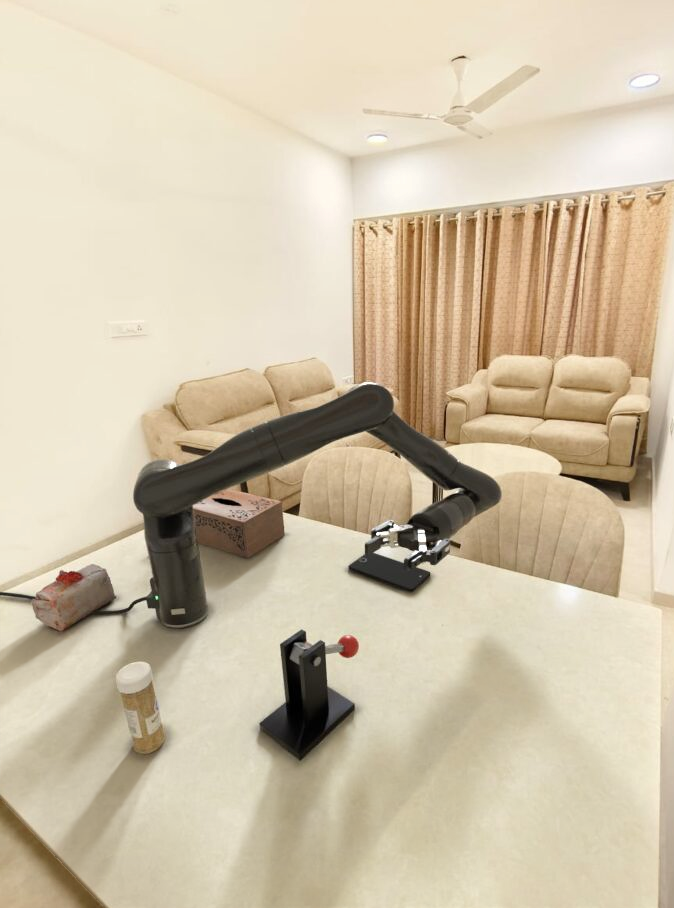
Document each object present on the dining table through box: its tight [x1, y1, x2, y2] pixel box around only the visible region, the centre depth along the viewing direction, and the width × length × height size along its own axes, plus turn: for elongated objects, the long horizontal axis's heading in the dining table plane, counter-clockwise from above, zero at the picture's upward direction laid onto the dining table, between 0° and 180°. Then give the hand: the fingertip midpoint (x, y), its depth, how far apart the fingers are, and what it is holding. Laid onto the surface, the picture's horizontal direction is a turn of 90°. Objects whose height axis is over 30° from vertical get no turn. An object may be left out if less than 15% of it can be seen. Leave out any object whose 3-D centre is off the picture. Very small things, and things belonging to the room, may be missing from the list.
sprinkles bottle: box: [115, 661, 166, 755], centre depth 73 cm, size 5×5×14 cm
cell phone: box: [347, 552, 431, 593], centre depth 118 cm, size 9×18×1 cm, turn 55°
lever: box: [290, 634, 360, 664], centre depth 78 cm, size 14×4×4 cm, turn 142°
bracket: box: [258, 629, 356, 762], centre depth 76 cm, size 12×9×15 cm
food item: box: [29, 563, 117, 632], centre depth 103 cm, size 14×8×10 cm, turn 154°
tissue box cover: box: [193, 488, 286, 559], centre depth 135 cm, size 26×14×10 cm, turn 61°
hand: (385, 557), depth 86 cm, fingers open, 8 cm apart
